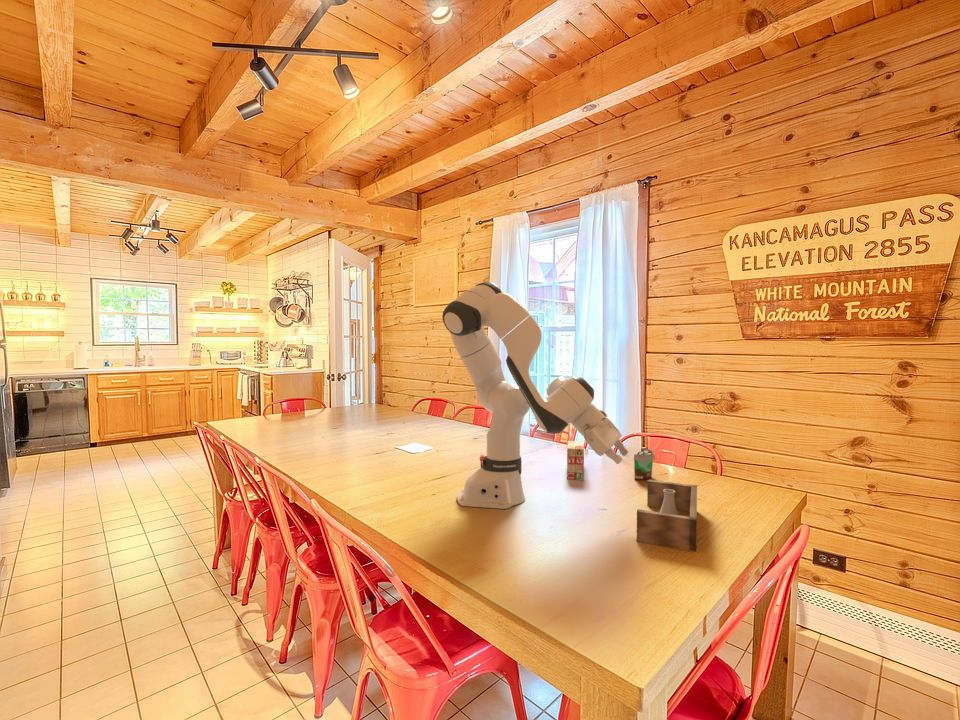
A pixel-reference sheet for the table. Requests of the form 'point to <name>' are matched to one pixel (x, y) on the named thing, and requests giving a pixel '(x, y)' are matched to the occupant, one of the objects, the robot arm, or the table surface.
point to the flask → (669, 502)
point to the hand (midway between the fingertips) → (623, 458)
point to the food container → (643, 464)
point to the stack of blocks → (575, 460)
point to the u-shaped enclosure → (669, 517)
